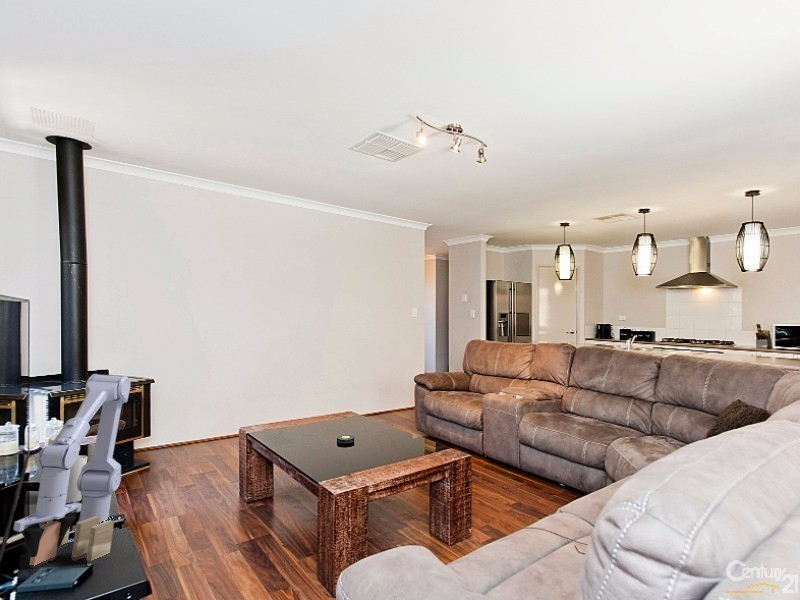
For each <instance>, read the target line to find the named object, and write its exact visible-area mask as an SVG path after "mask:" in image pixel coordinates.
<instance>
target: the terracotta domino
mask: <svg viewBox="0 0 800 600" xmlns="http://www.w3.org/2000/svg"><path fill="white" fill-rule="evenodd" d="M60 525H61V522H58V521H55V522H52V523H49V524H48V523H45V524H44V525H39V526H40V528H44V529H45V530H44V532H43V534H42V536H41V539H40V543H39V548H38V553H37V556H35V557H31V556H30V559H29V565H34V566H35V565H37V564H39V563H41V562H43V561H46V560H48V559H50V558H53V557H55V556H56V557H57V550H58V549H57V544H58V538H59V532H60Z"/></svg>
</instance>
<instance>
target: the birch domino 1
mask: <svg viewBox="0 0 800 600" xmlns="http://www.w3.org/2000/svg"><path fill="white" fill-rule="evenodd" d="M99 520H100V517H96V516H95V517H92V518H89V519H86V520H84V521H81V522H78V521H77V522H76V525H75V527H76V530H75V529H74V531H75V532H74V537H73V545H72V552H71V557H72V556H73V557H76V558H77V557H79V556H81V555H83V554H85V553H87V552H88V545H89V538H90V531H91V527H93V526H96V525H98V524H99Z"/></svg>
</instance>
